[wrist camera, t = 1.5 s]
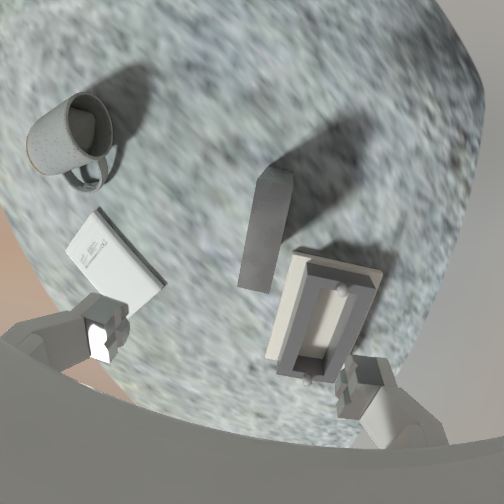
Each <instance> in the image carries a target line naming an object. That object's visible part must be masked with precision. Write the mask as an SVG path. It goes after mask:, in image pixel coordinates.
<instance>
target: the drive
mask: <svg viewBox="0 0 504 504" xmlns="http://www.w3.org/2000/svg"><path fill="white" fill-rule="evenodd" d="M293 187H294V185H293V171H290V170H285V169H280V168H276V167H271V166H268V167H267V168H266V169H265V170H264V172H263V173H262V174H261V175H260V176H259V178H258V179H257V183H256V188H255V194H254V199H253V204H252V210H251V215H250V220H249V226H248V231H247V236H246V242H245V247H244V252H243V258H242V263H241V269H240V274H239V279H238V285H237V287H241V288H245V289H250V290H254V291H259V292H264V293H268V294H269V292H270V288H271V284H272V279H273V275H274V271H275V267H276V262H277V258H278V254H279V250H280V245H281V241H282V236H283V232H284V228H285V223H286V219H287V214H288V210H289V205H290V201H291V196H292V192H293Z"/></svg>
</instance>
